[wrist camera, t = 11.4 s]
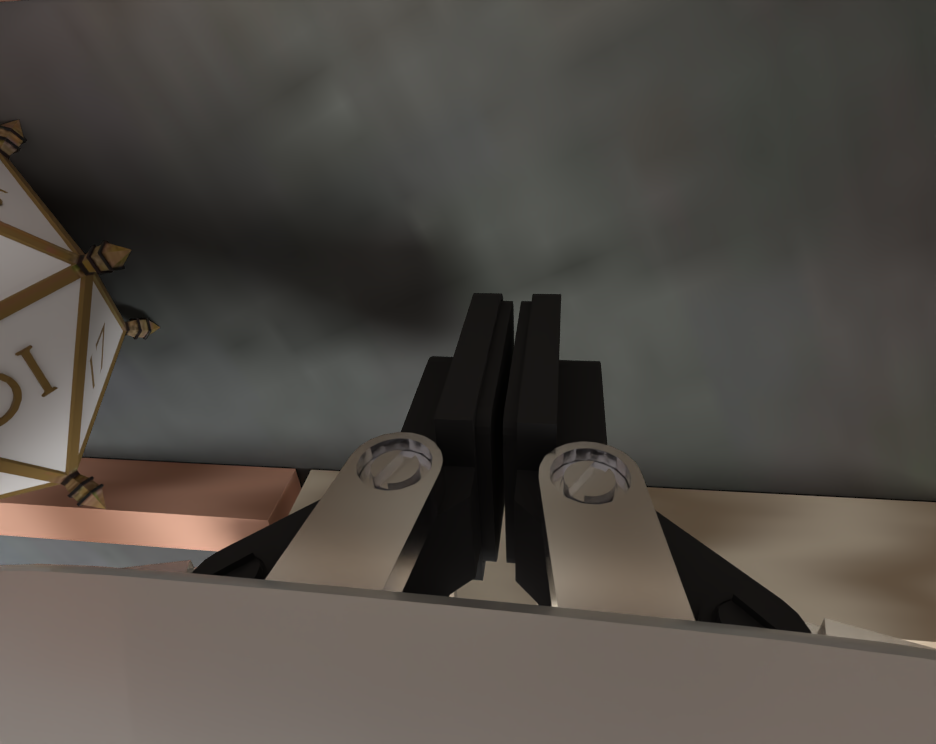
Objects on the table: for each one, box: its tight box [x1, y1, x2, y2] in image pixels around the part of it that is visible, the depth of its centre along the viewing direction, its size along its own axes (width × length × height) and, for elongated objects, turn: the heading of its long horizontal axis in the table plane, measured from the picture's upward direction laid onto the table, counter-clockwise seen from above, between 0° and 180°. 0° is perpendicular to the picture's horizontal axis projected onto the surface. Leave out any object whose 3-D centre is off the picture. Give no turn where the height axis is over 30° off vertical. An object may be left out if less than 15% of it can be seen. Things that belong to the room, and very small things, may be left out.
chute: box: [0, 0, 936, 649], centre depth 12 cm, size 31×15×4 cm, turn 93°
